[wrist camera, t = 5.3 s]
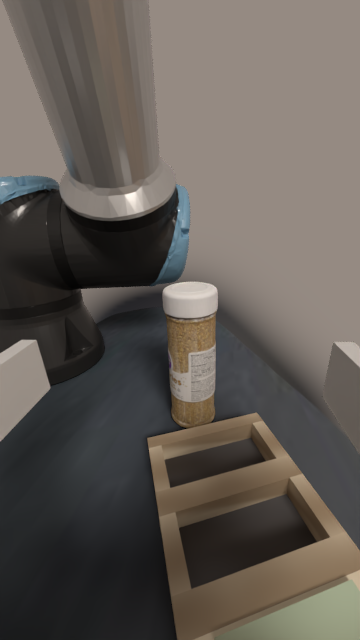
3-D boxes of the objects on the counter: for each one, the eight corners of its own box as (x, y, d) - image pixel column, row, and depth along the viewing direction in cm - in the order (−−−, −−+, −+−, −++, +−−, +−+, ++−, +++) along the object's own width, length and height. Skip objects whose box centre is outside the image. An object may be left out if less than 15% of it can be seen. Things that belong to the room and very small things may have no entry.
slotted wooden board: (149, 455, 21) (147, 435, 20) (255, 429, 23) (257, 410, 22) (234, 1021, 6) (238, 1040, 5) (511, 806, 8) (546, 792, 7)
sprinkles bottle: (165, 406, 26) (154, 284, 21) (202, 394, 28) (201, 277, 23) (182, 438, 22) (174, 298, 17) (224, 422, 24) (229, 289, 19)
